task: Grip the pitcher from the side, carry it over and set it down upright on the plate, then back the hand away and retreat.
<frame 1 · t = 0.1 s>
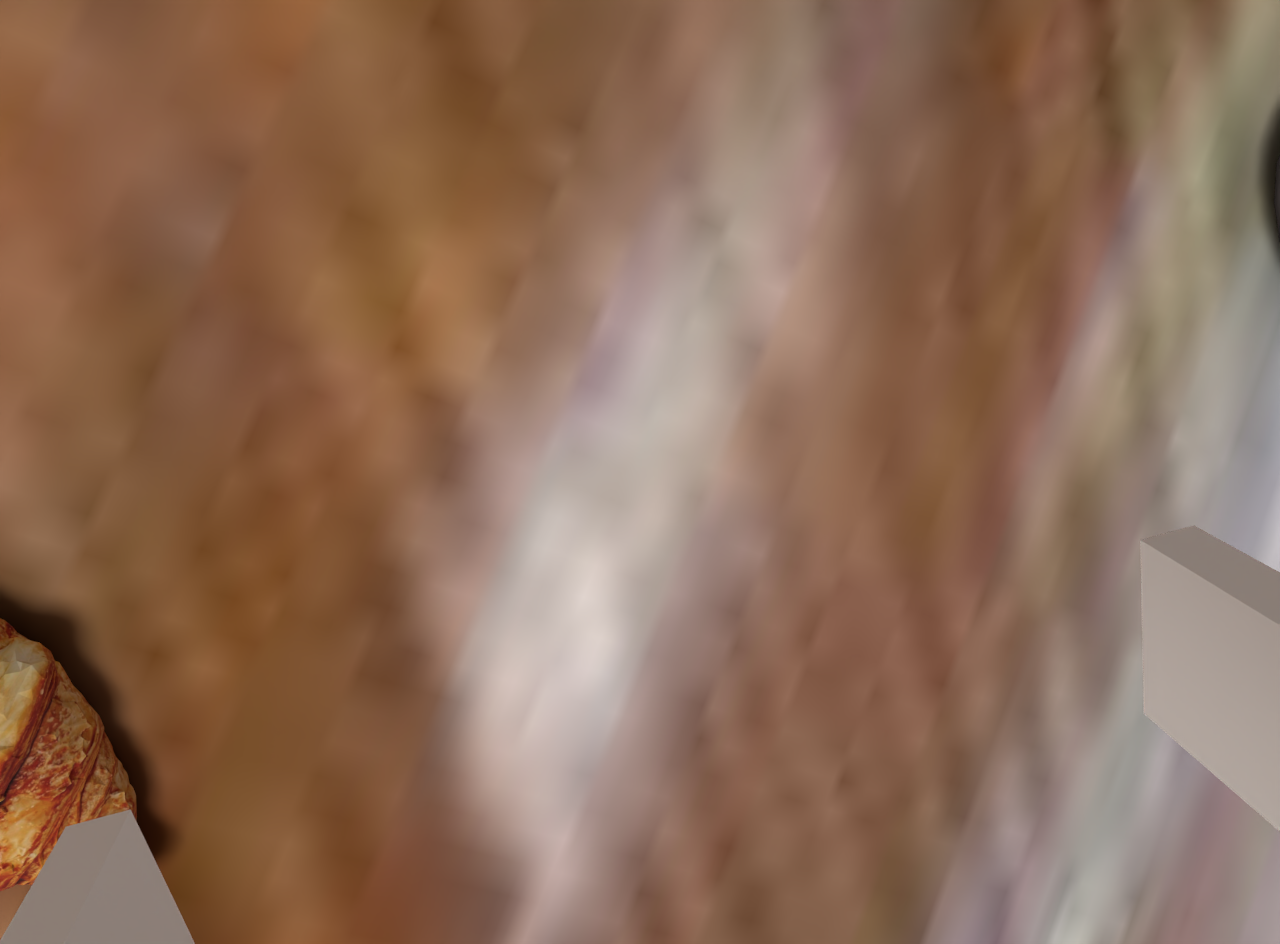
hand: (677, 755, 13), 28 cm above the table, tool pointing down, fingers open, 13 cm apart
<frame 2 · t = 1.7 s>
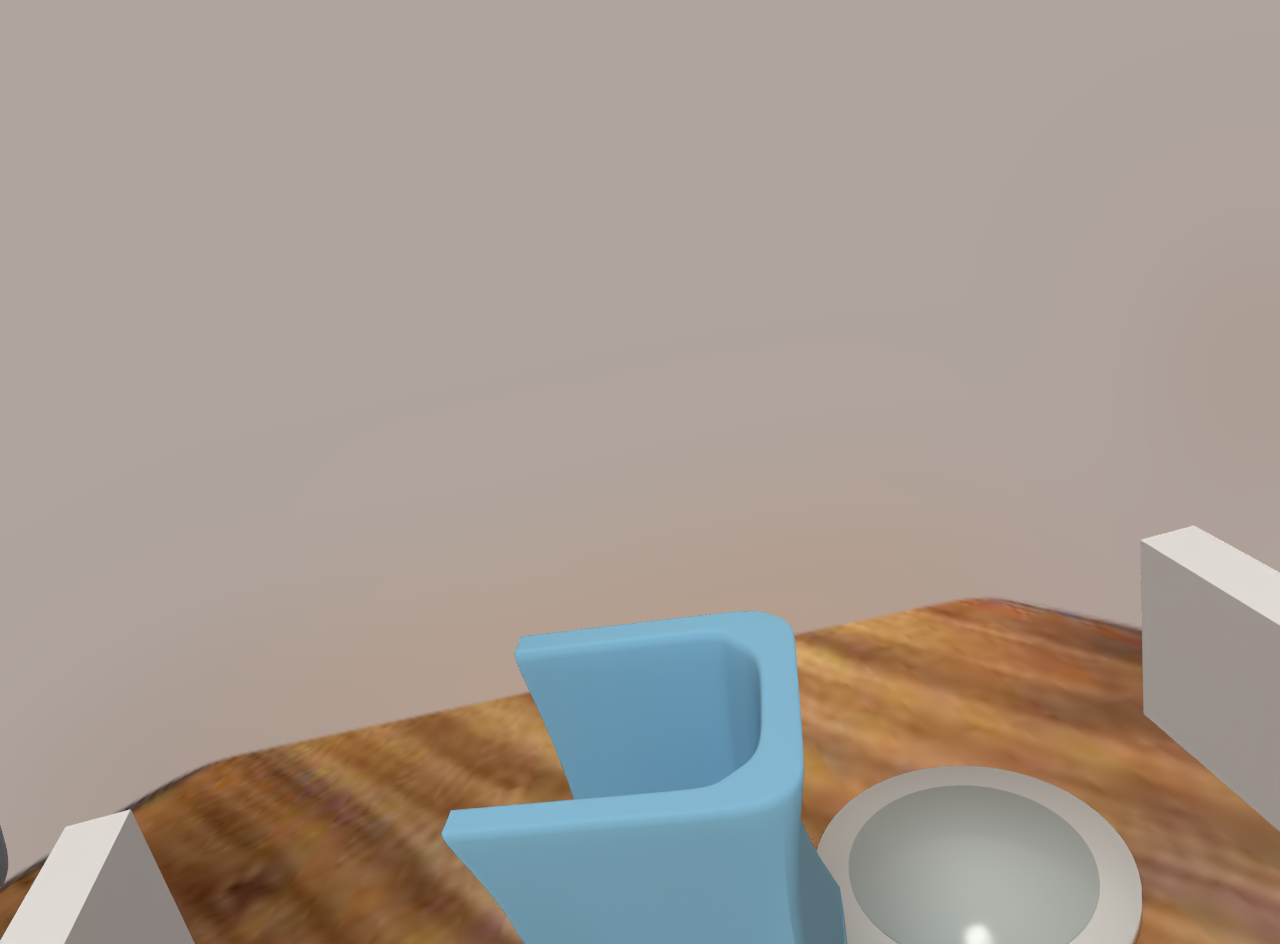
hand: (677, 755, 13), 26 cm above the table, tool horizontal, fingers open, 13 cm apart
plate: (970, 882, 42), on the table
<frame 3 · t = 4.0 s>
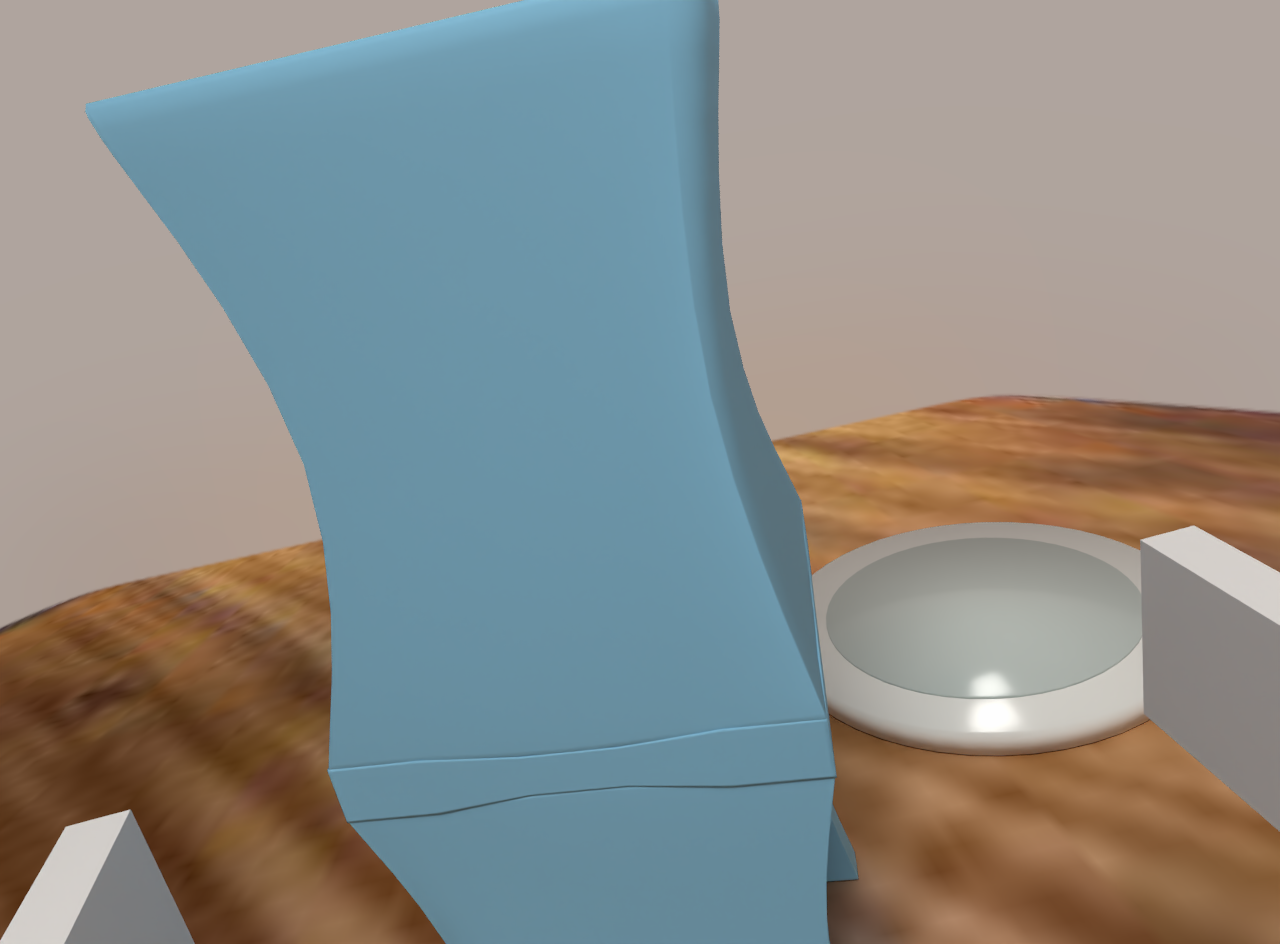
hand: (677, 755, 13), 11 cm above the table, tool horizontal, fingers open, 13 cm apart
plate: (979, 629, 33), on the table
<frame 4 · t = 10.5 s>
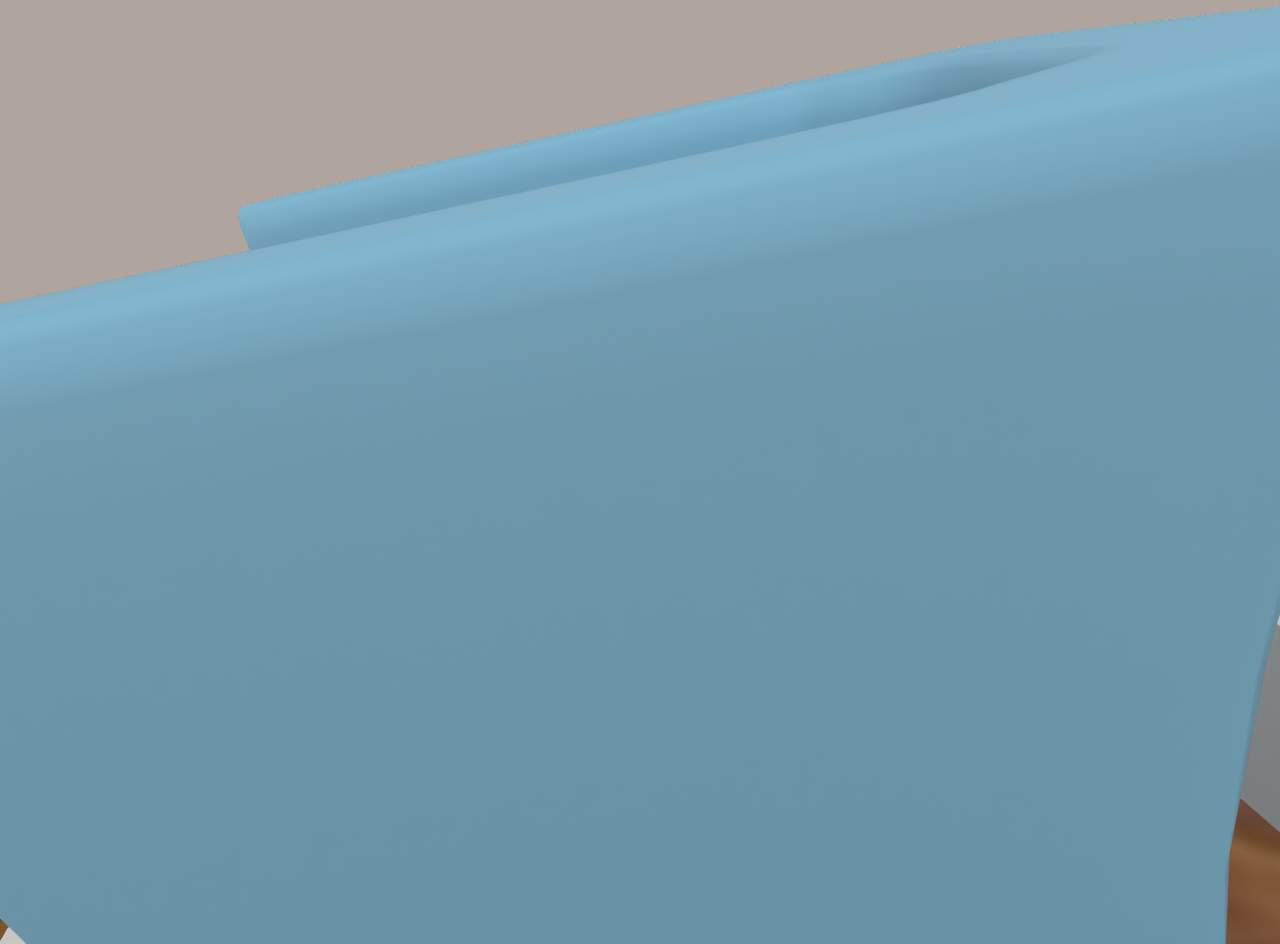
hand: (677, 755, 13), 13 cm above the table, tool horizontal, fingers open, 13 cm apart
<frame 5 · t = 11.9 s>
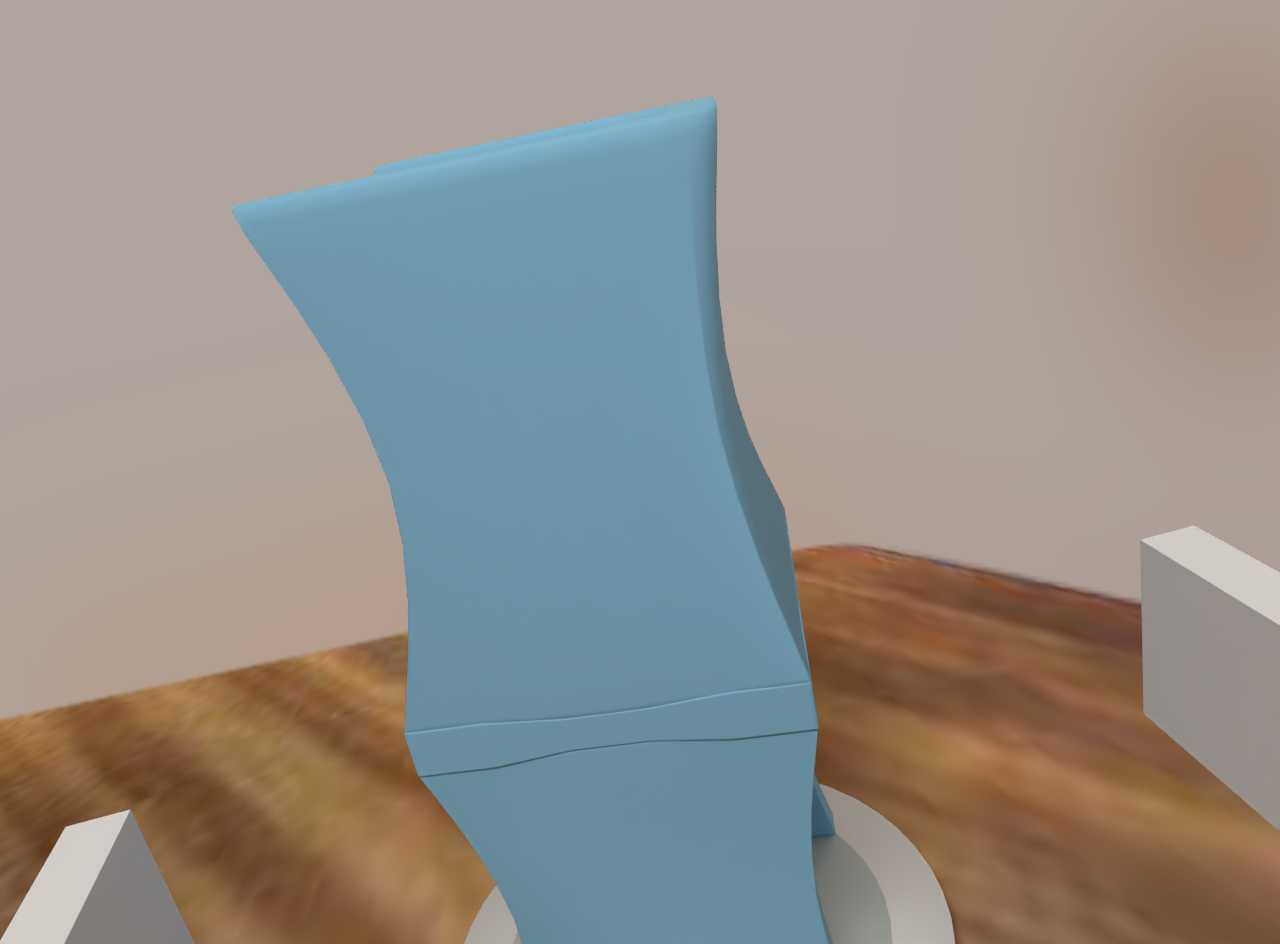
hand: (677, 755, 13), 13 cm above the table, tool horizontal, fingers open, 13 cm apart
vase: (698, 939, 26), point 1 cm above the table, touching plate
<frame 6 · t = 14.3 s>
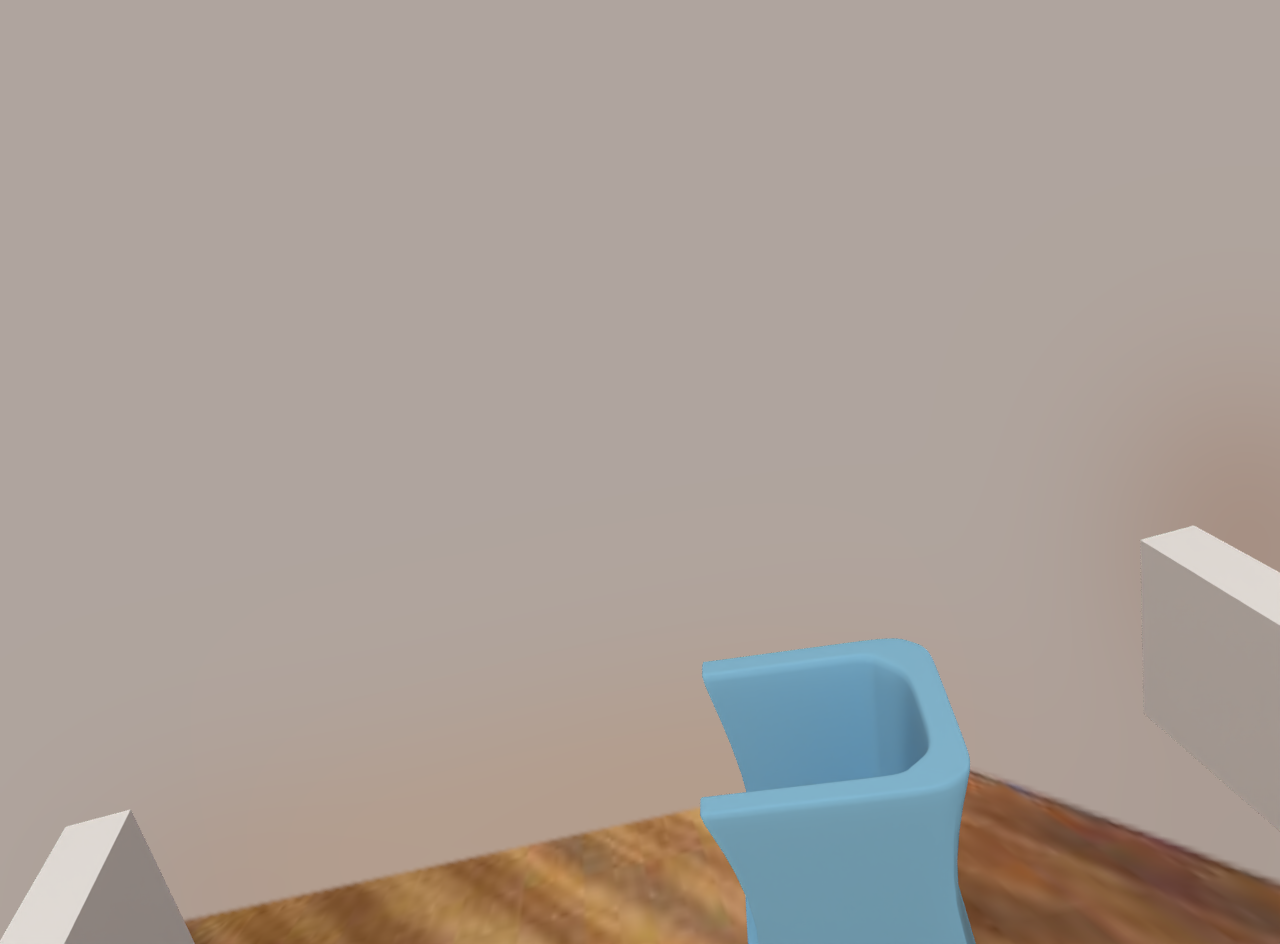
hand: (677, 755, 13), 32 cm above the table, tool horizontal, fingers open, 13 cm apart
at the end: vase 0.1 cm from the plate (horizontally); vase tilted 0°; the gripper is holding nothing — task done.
